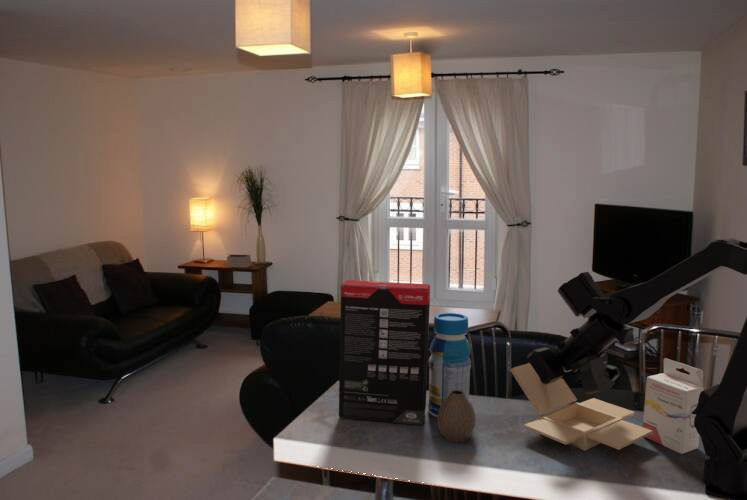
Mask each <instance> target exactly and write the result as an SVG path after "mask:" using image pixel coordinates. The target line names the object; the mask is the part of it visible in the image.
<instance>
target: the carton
mask: <svg viewBox="0 0 747 500" xmlns="http://www.w3.org/2000/svg"><path fill="white" fill-rule="evenodd" d="M634 415H635V411H634V410H630V409H627V408H625V407H621V406H618V405H617V404H613V403H609V402H606V401H603V400H601V399H598V398H596V397H595V398H594V397H593V398H590V399H587V400H584V401H582V402H577V401H575V402H572V403H569V404H567V405H564V406H561V407H559V408H556V409H554V410H551V411H548V412H546V413H545V414H544V413H543V414H540V415H538V416H539V417H538V419H535V420H533V421H532V420H531V421H530V422H528V423H525V424H523V428H525V429H527V430H529V431H532V432H534V433H537V434H539V435H541V436H543V437H546V438H549V439H551V440H554V441H556V442H557V443H558V442H559V443H561V444H564V445H565V446H567V445H570V446H572V447H575V448H577V449H579V450H582V451H584V452H585V451H587V450H589V449H591V448H593V447H596V446H598V445H599V444H600V445H601V444H603V445H606V446H609V447H611V448H613V449H616V450H618V451H620V450H621V449H623V448H625V447H627V446H630V445H631V444H634V443H636V442H638V441H640V440H642V439H643V438H646V436H648V435H650V434H652V430H649V429H646V428H643V426H641V425H637V424H635V423H632V422H629V421H627V420H625V419H627V418H630V417H632V416H634Z"/></svg>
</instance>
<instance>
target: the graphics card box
mask: <svg viewBox="0 0 747 500" xmlns="http://www.w3.org/2000/svg"><path fill="white" fill-rule="evenodd" d="M430 302H431V284H428V283H427V284H426V283H410V282H389V281H372V280H370V281H369V280H354V279H353V280H349V279H346V280H345V281H344V282H343V283H341V285H340V329H339V330H340V333H339V336H340V338H339V340H340V344H339V349H340V350H339V381H338V383H339V384H338V386H339V387H338V418H341V419H350V420H351V419H353V420H362V421H370V422H371V421H374V422H385V423H394V424H404V425H415V426H416V425H417V426H421V425H423V424H424V419H425V414H426V409H427V408H426V405H427V386H428V382H427V381H428V364H429V337H430V335H429V333H430V332H429V331H430V305H431V304H430Z"/></svg>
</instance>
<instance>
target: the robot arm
mask: <svg viewBox="0 0 747 500" xmlns="http://www.w3.org/2000/svg"><path fill="white" fill-rule="evenodd" d="M724 268H728V269H730V270H733V271H734V272H736V273H737V272H738V273H740V274H743V275H746V276H747V242H746V241H743V240H739V239H738V240H737V239H736V238H732V237H725V238H719V239H714V240H712V241H711V242H709V244H708V245H707V246H705V247H703V248H702V249H700V250H698V251H697V252H695V253H694V254H692V255H690V256H688V257H687V258H685V259H684V260H682V261H680V262H678V263H677V264H675V265H673V266H671V267H670V268H668V269H666V270H664V271H663V272H661V273H659V274H658V275H657V276H655V277H652V278H651V279H649V280H647V281H644V282H641V283H638V284H634V285H631V286H629V287H628V286H627V287H625V288H623V289H620V290H617V291H614V292H609V293H604V291H602V289H601V288H600V287H599V286H598V284H597V283H596V282H595V280H594V277H593V276H592V275H591V274H590V272H589V271H585V272H583V271H582V272H580V273H579V274H578V275H577V276H575V277H573V278H571V279H570V280H567V282H564V283H562V284H561V285H560V287H559V288H558V289H557V293H558V295H559V296H560V297H561V298H562V300H563V301H564V303H565V304H566V306H567V307H568V308H569V309H570V310H571V312H572V313H573V315H574V316H575V317H576V318H578V317H580V316H581V317H582V318H583V319H586V318H589V319H587V320H586V321H585V322H584V323H583V324H582V325H581V326H579V327H577V328H573V329H572V330H570V331H569V334H570V335H569V336H568V337H567V338H566V339H563V340H560V341H558V342H557V343H556V347H557V348H556V349H555V351H554V350H553V349H551V348H549V347H541V348H540V347H539V348H537V349H534V350H532V351H530V352H529V354H527V356H526V359H527V361H528V363H530V364H531V365H532V367H533V368H534V370H535V371H536V373H537V374H538V376H539V377H540V380H541V381H542V383H545V384H549V383H552V382H555V381H557V380H559V379H563V380H565V379H567V378H570V377H572V376H571V375H574V376H576V375H577V376H578V377H579V380H580V383H581V384H582V390H583V393H584V394H586V395H591V394H595V393H600V392H604V391H607V390H608V389H611V388H612V387H613V385H615V381H616V380H617V379H618V377H620V375H621V372H620V370H619V368H618V367H617V366H615V365H611V364H608V356H609V355H608V353H607V351H608V350H607V348H608V347H610V345H612V344H613V343H614V342H616V341H618V342H619V344H620V345H621V346H624V345H627V344H631V343H633V342H634V341H635V335H634V328H633V327H630V326H627V325H629V324H631V323H635V322H636V323H637V322H639V321H643V320H646V319H648V318H649V317H651V316H652V315H653V314H654V313H655V312H656V313H657V311H658V310H659V309H660V308H662V307H663V305H665V303H666V302H667V301H668V300H669V299H670V298H672V297H673V296H675V295H677V294H679V293H681V292H682V291H684V290H685V289H688V288H689V287H691V286H693V285H695V284H697V283H699V282H700V281H702V280H704V279H706V278H708V277H710V276H712V274H714V273H716V272H718V271H720V270H722V269H724ZM730 355H731V356H730V358H729V361H728V363H727V365H726V368H725V371H724V373H723V375H722V378H721V381H720V383H716V384H715V385H712V386H709V387H708V388H706V389H704V390H703V391H701V393H700V395H699V400H698V404H697V407H696V409H695V410H694V411H693V412H692V414H695V415H696V416H695V418H694V427H695V428H696V430H697V432H698V434H699V437H700V439H701V442H702V447H703V450H704V454H705V457H704V466H703V475H702V484H703V485H705V489H704V492H705V494H708V495H711V496H716V497H719V498H724V499H728V500H747V317H746V318H745V321H744V323H743V326H742V329H741V331H740V333H739V335H738V339H737V341H736V343H735V345H734V347H733V350H732V353H731V354H730Z"/></svg>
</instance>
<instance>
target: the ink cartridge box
mask: <svg viewBox="0 0 747 500" xmlns="http://www.w3.org/2000/svg"><path fill="white" fill-rule="evenodd" d="M677 369H680V370H681V369H683V370H684V371H685V372H688V373H689V374H687V373H684V372H680V371H679V370H677ZM703 390H705V389H704V371H703V370H702V369H701V368H698V367H693V366H691V365H688V364H685V363H682V362H678V361H677V360H672V359H669V358H667V357H664V358H663V373H658V374H657V373H656V374H653V375H649V376H647V377H646V383H645V396H644V405H643V406H644V407H643V419H642V420H643V421H642V427H643V428H646V429H649V430H652V434H650V435H648V436H646V437H645V438H646V439H649V440H650V441H652V442H655V443H657V444H659V445H662V446H663V447H666V448H668V449H669V450H672V451H673V452H676V453H679V454H681V455H683V454H685V453H688V452H691V451H694V450H697V449H698V448H699V445H700V444H699V443H700V442H699V441H700V435H699V434H698V432H697V430H696V428H695V427H694V418H695V416H696V415H695V414H692V412H693V411H694V410H695V409H696V407H697V404H698V400H699V395H700V393H701V391H703Z"/></svg>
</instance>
